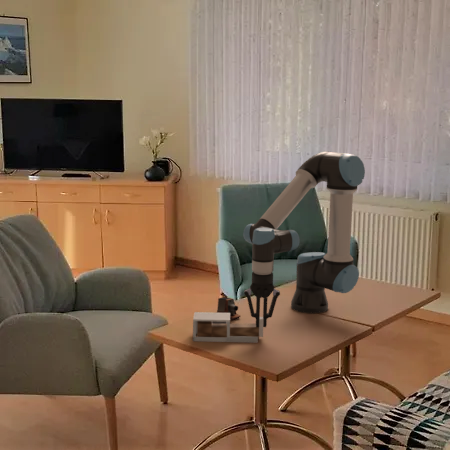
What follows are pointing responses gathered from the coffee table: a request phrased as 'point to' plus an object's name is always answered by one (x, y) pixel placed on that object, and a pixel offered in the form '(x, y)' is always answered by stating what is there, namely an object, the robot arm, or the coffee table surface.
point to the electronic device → (228, 307)
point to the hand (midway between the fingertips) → (260, 335)
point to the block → (204, 328)
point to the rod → (235, 330)
